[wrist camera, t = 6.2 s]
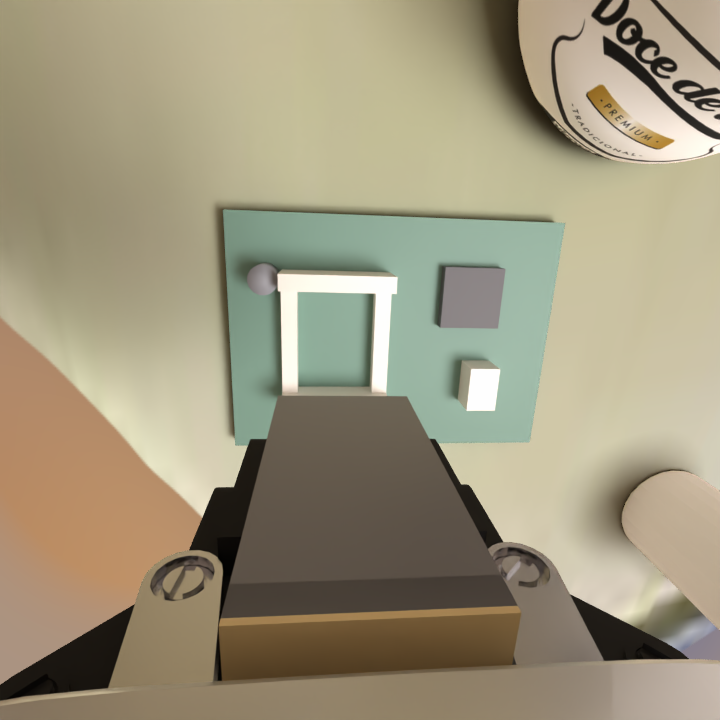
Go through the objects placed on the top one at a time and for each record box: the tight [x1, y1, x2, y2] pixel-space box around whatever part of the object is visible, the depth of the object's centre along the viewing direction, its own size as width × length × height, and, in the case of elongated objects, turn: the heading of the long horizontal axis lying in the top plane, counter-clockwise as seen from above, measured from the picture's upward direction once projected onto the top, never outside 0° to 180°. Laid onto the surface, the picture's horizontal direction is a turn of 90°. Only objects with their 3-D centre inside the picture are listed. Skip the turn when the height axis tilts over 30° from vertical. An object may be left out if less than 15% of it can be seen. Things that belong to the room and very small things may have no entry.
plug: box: [219, 396, 521, 681], centre depth 9 cm, size 6×4×7 cm, turn 178°
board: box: [223, 210, 565, 445], centre depth 29 cm, size 16×22×4 cm
